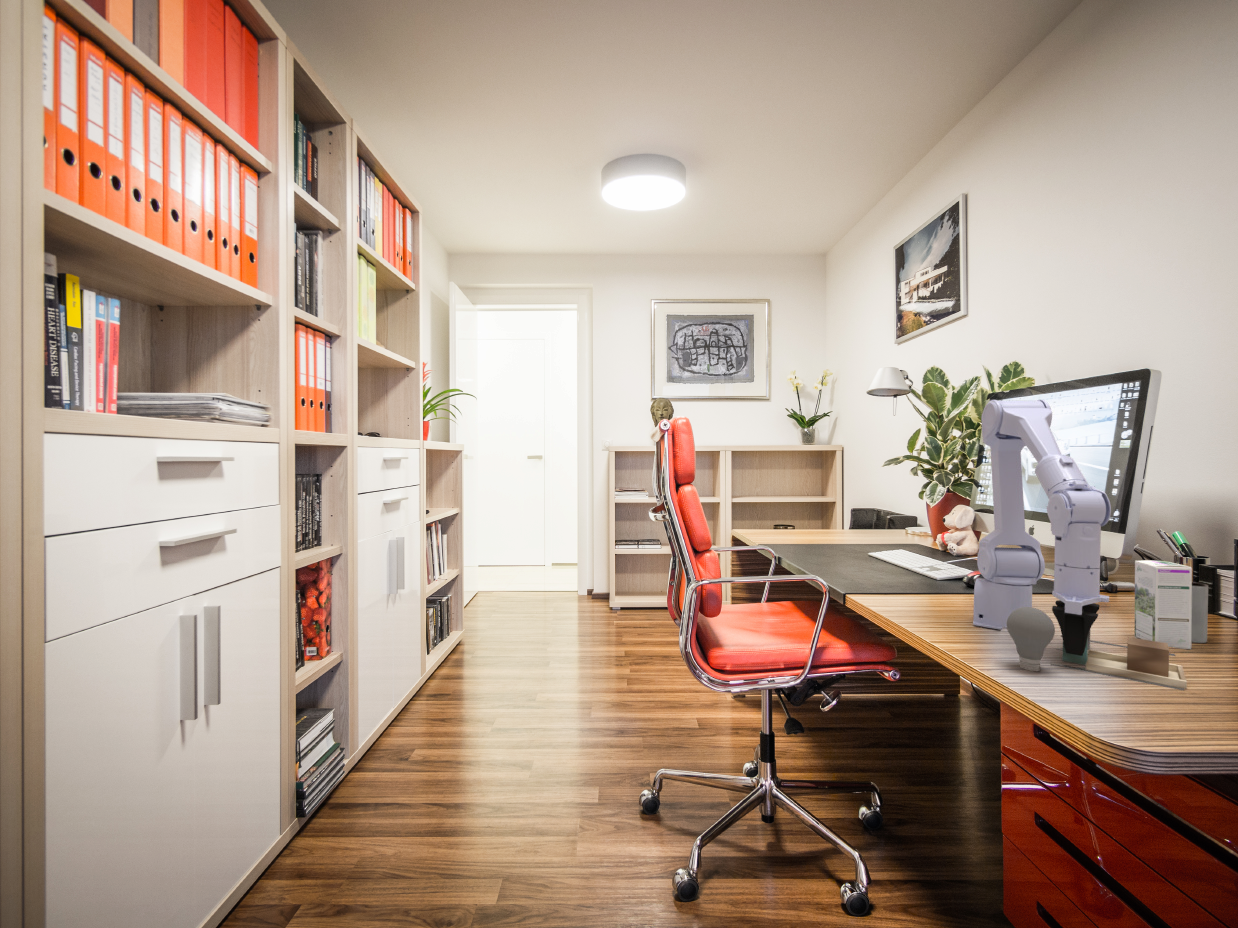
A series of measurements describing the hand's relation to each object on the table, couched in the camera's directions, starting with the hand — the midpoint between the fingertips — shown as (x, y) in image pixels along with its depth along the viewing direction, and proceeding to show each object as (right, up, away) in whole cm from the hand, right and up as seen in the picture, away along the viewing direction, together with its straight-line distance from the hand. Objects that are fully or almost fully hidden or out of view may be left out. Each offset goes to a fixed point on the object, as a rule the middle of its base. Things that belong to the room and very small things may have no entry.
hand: (1075, 650), depth 93 cm
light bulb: (-10, -2, -4) cm, 11 cm away
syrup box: (+24, -3, +11) cm, 27 cm away
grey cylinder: (+32, -3, +14) cm, 35 cm away
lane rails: (+7, -2, 0) cm, 7 cm away
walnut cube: (+6, -2, -6) cm, 9 cm away
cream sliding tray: (+4, -2, -3) cm, 5 cm away
